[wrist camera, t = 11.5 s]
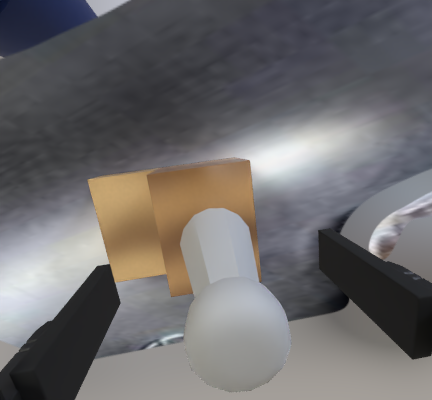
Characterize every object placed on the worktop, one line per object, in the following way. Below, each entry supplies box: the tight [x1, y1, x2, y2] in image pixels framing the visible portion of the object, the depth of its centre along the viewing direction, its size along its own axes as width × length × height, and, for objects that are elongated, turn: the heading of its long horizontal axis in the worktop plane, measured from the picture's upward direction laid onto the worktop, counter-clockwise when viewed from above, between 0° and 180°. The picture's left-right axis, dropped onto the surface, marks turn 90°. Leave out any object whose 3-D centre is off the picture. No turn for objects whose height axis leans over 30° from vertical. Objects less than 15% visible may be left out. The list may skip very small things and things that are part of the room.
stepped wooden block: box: [88, 157, 261, 297], centre depth 24 cm, size 12×16×8 cm
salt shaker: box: [180, 208, 291, 392], centre depth 14 cm, size 6×6×13 cm
